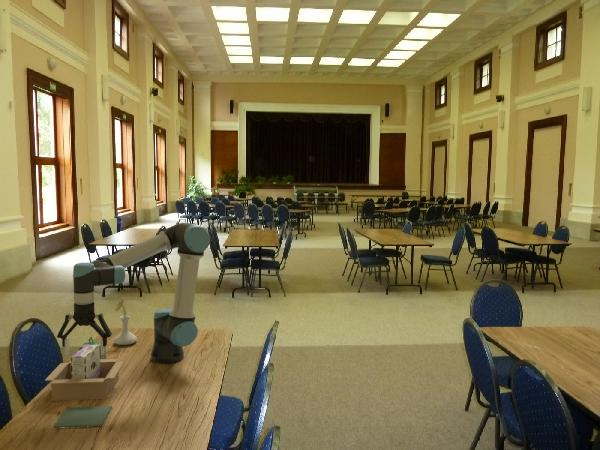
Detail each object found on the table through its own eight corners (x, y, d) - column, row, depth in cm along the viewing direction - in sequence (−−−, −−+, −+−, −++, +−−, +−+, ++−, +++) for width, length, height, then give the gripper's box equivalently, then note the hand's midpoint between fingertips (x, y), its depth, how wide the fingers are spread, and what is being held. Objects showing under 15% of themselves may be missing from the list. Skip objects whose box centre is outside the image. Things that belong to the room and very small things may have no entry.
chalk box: (101, 374, 219) (100, 341, 218) (79, 374, 218) (78, 341, 217) (107, 366, 228) (106, 334, 227) (85, 366, 227) (84, 334, 226)
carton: (126, 376, 217) (125, 358, 216) (112, 401, 194) (111, 381, 193) (64, 378, 214) (63, 360, 213) (42, 403, 191) (41, 383, 190)
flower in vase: (116, 339, 263) (115, 292, 261) (139, 339, 265) (138, 292, 262) (110, 348, 251) (109, 299, 248) (134, 347, 252) (133, 298, 249)
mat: (112, 407, 189) (112, 405, 189) (101, 426, 175) (101, 424, 175) (67, 409, 187) (67, 407, 187) (53, 428, 173) (53, 426, 173)
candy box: (87, 382, 211) (86, 343, 209) (101, 382, 211) (100, 344, 209) (71, 396, 197) (70, 356, 195) (86, 397, 197) (85, 356, 195)
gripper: (119, 299, 205) (119, 350, 207) (54, 299, 202) (55, 351, 204) (114, 304, 198) (115, 357, 200) (47, 304, 195) (48, 358, 197)
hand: (84, 354), depth 202 cm, fingers open, 13 cm apart
